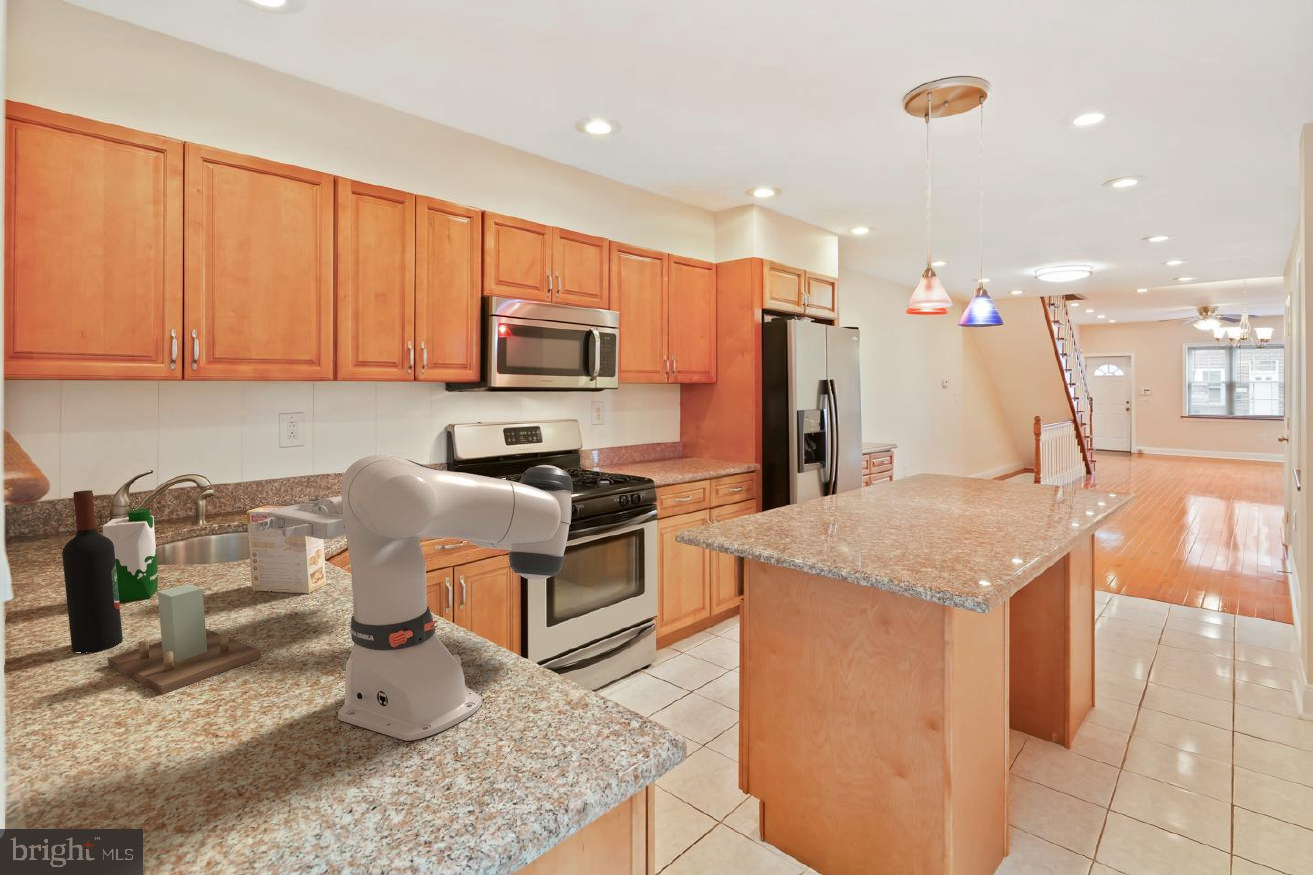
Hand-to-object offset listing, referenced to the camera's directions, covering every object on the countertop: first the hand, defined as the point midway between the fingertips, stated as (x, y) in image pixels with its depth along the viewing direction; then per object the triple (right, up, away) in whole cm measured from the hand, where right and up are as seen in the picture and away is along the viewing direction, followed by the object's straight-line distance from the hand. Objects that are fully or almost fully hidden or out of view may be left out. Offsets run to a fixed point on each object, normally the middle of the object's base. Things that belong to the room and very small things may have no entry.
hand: (270, 529), depth 134 cm
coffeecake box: (-12, -18, +29) cm, 36 cm away
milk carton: (-45, -19, +23) cm, 54 cm away
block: (-9, -21, -11) cm, 25 cm away
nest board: (-9, -23, -11) cm, 27 cm away
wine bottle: (-31, -22, -4) cm, 38 cm away
